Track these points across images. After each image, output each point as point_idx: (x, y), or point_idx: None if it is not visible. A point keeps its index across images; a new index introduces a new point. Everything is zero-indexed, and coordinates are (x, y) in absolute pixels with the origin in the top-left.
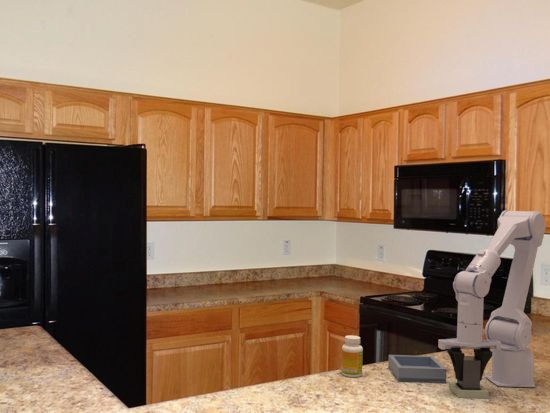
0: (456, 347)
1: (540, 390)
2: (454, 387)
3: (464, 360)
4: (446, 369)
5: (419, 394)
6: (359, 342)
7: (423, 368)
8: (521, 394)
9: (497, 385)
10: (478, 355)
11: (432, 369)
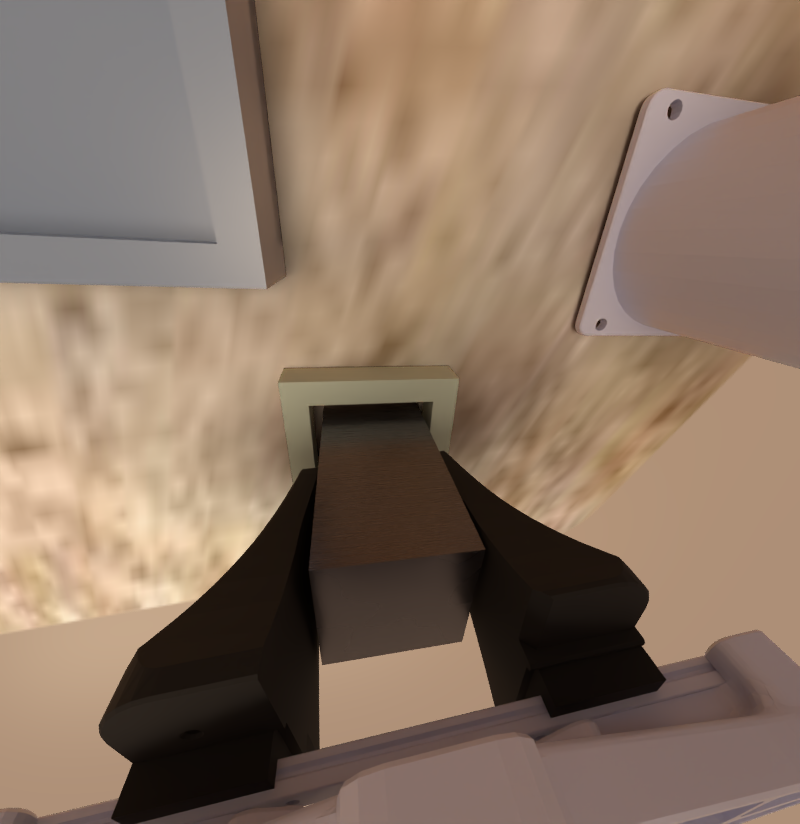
0: (232, 815)
1: (727, 361)
2: (291, 471)
3: (330, 661)
4: (267, 288)
5: (98, 488)
6: None
7: (4, 281)
8: (602, 422)
9: (577, 330)
10: (494, 620)
11: (119, 283)
